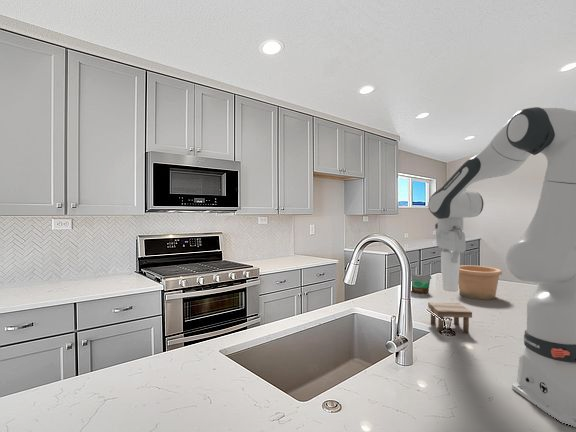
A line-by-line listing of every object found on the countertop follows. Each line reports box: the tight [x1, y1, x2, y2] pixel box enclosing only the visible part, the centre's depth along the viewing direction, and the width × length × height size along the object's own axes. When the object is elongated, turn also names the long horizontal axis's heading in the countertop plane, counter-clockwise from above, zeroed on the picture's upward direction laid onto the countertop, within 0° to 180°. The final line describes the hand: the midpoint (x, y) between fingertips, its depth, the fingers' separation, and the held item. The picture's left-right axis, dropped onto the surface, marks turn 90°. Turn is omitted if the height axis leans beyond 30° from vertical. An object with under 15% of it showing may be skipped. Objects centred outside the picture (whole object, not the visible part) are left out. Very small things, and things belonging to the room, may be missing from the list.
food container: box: [411, 274, 432, 295], centre depth 183 cm, size 12×6×10 cm, turn 73°
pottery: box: [458, 264, 503, 300], centre depth 178 cm, size 22×22×14 cm
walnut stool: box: [427, 301, 473, 334], centre depth 130 cm, size 12×12×8 cm
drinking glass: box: [440, 250, 461, 293], centre depth 129 cm, size 7×7×15 cm
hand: (450, 261), depth 129 cm, fingers closed on drinking glass, 7 cm apart
